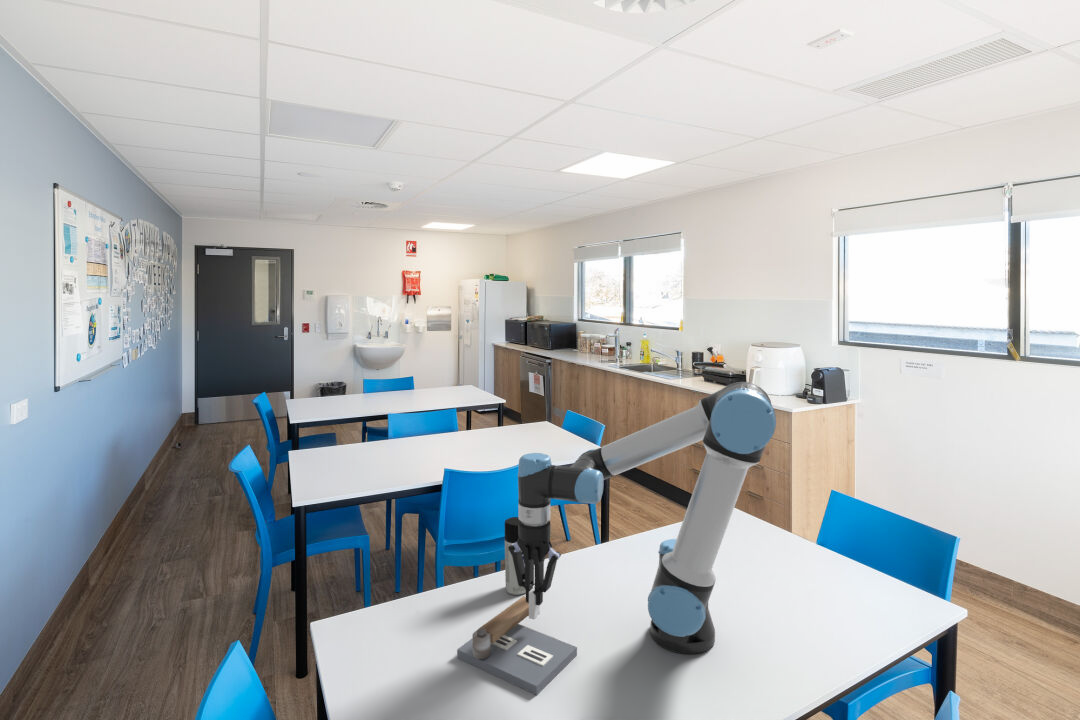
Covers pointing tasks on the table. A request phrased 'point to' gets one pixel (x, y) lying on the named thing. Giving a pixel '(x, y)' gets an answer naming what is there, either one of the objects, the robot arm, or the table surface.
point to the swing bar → (498, 627)
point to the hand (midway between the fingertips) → (534, 615)
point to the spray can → (510, 573)
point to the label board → (523, 658)
